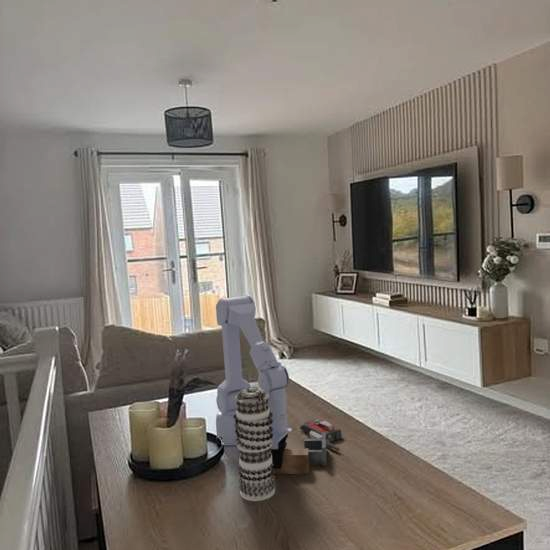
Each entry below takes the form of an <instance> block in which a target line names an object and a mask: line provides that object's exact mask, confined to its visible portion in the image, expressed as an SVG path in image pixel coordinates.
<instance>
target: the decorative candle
mask: <svg viewBox="0 0 550 550" xmlns="http://www.w3.org/2000/svg"><path fill="white" fill-rule="evenodd" d="M268 397H269V394H267V393H265V391H264V390H263V389H261V388H260V387H259V386H257V387H255V386H251V387H249V388H245V389H242V390H241V391H240V392H239V393H238V395H237V396H235V400H236V401H237V410H236V414H235V415H234V416H233V418H235V425H234V426H235V427H236V430H235V433H236V435H237V436H236V437H237V438H236V441H237V443H238V444H237V445H236V447H237V449H238V451H239V452H238V453H239V457H238V458H239V459H238V461H239V463H238V465H237V468H238V475H239V478H238V482H239V485H238V486H239V487H238V488H239V490H240V492H239V495H240V497H241V498H243V499H244V500H246V501H251V502H261V501H266V500H268V499H270V498H272V497H273V495H274V494H276V486H275V485H276V483H275V481H276V480H275V478H276V477H275V475H274V469H273V467H274V466H273V465H274V463H273V461H272V454H271V446H272V440H271V438H272V437H273V434H272V433H270V432H272V431H273V428H272V427H271V426H269V425H270V424H272V423H273V420H272V419H271V417H272V416H273V413H272V412H270V411H269V406H268ZM236 416H237V417H236ZM268 416H269V417H268ZM237 424H238V425H237ZM238 430H239V432H238ZM271 470H272V471H271ZM265 499H266V500H265Z"/></svg>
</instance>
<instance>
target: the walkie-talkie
mask: <svg viewBox="0 0 550 550" xmlns="http://www.w3.org/2000/svg"><path fill="white" fill-rule="evenodd" d="M300 430H302V431H303V433H305V432H306V433H305V434H307V433H308V434H307V435H309V436H308V437H310V439H322V432H326V447H329V448H331V449H333V450H336V451H337V452H338V451H340V447H339V446H336V445H335V444H333V443H332V442H333V440H334V441H337V440H340V439H342V429H341V428H339V427H336V426H334V425H333V424H332V423H331V422H328V421H326V420H321V419H318V418H314V419H310V420H307V421H304V422H303V425H300Z"/></svg>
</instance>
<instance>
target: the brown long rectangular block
mask: <svg viewBox="0 0 550 550" xmlns="http://www.w3.org/2000/svg"><path fill="white" fill-rule="evenodd" d="M271 471H272V470H271ZM274 473H287V474H286V475H289V474H291V475H293V474H295V475H301V474H302V475H307V474H309V475H310V464H309V448H306V449H304V448H285V450H284V453H283V460H282V467H281V469H274Z"/></svg>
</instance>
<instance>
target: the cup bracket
mask: <svg viewBox="0 0 550 550" xmlns="http://www.w3.org/2000/svg"><path fill="white" fill-rule="evenodd" d="M303 444H304V445H303V446H304V447H303V449H306V448H309V465H322V467H327V446H326V432H322V439H311V438H306V439H303Z"/></svg>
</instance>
